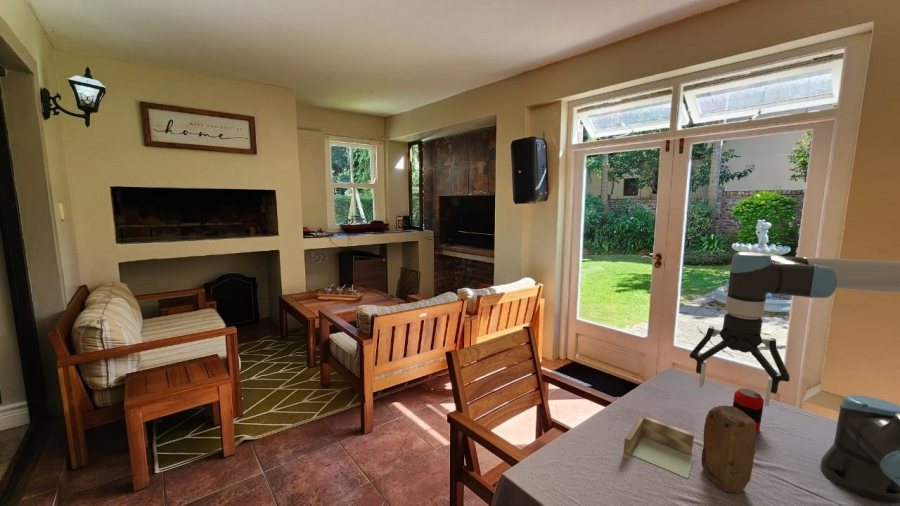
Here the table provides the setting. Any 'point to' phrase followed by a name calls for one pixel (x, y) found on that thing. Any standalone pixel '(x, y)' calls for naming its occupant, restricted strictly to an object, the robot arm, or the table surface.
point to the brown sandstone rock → (729, 448)
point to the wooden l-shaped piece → (657, 435)
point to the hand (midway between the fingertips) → (732, 394)
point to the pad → (664, 457)
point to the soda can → (749, 404)
